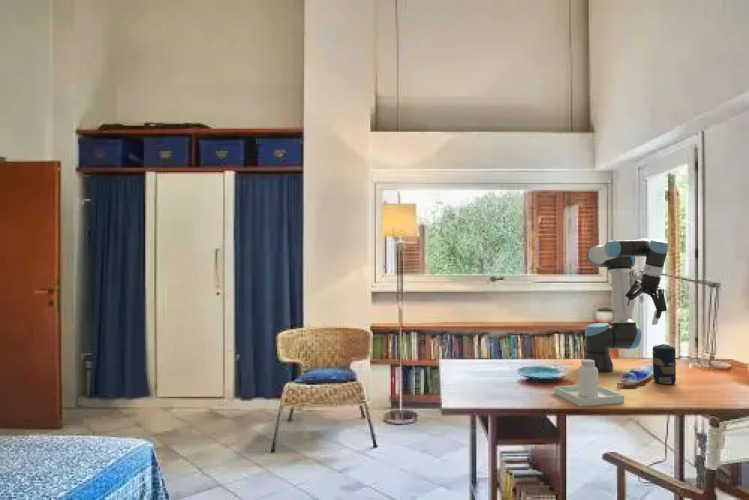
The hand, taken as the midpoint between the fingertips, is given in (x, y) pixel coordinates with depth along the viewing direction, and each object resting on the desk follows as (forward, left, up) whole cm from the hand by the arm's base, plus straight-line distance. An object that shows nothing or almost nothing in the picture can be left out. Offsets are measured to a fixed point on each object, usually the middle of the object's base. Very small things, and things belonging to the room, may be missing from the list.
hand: (641, 318), depth 254 cm
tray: (+11, -34, -31) cm, 47 cm away
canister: (-3, +14, -31) cm, 34 cm away
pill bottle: (+11, -34, -30) cm, 47 cm away
